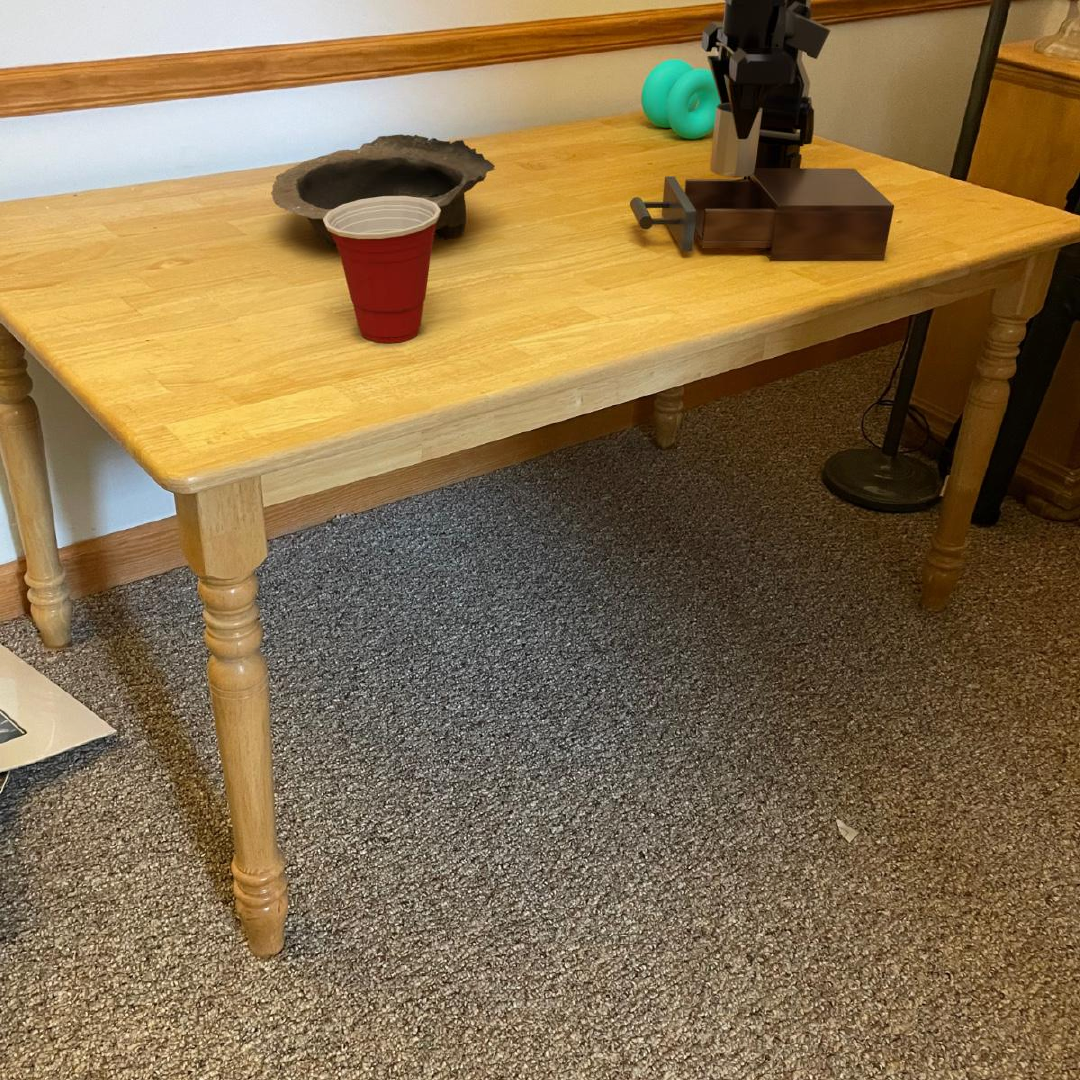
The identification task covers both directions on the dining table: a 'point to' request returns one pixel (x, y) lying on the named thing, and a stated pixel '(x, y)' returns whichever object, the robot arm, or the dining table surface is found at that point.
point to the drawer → (712, 213)
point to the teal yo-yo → (681, 98)
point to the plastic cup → (386, 261)
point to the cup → (733, 145)
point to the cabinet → (824, 214)
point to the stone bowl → (385, 179)
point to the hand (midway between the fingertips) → (736, 132)
